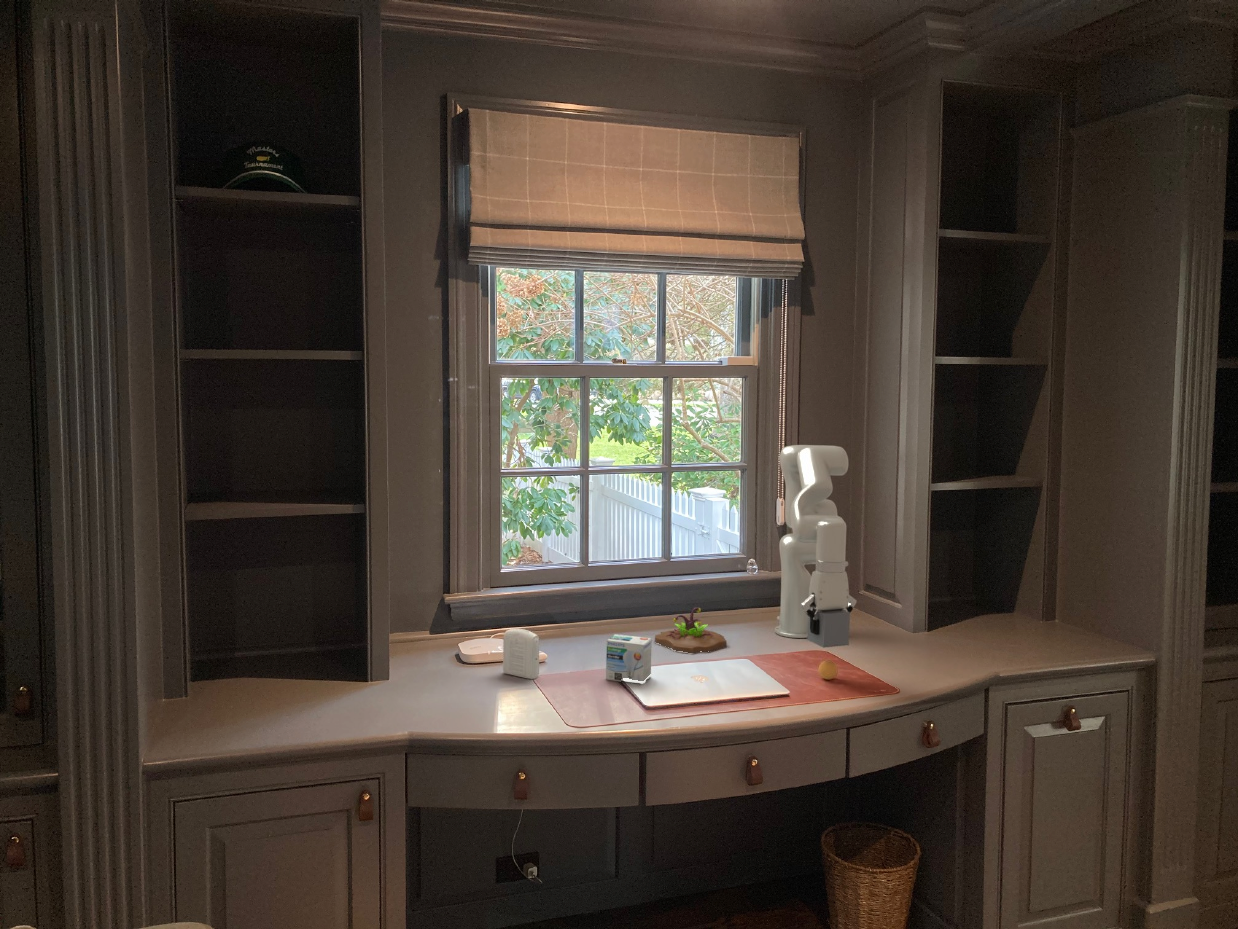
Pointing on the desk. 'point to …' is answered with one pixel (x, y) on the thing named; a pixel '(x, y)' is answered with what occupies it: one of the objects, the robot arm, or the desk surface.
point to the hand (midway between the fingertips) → (828, 631)
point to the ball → (828, 670)
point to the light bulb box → (628, 658)
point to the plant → (691, 636)
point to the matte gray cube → (831, 628)
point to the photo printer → (521, 653)
